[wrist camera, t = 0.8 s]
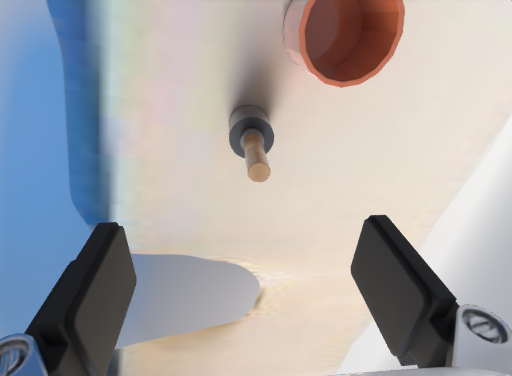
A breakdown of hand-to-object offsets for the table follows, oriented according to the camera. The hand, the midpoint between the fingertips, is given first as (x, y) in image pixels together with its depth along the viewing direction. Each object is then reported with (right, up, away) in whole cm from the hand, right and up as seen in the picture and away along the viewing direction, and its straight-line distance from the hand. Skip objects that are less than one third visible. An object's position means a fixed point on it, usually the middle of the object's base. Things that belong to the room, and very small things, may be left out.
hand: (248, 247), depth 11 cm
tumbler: (+8, +20, +19) cm, 29 cm away
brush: (-1, +10, +24) cm, 26 cm away
